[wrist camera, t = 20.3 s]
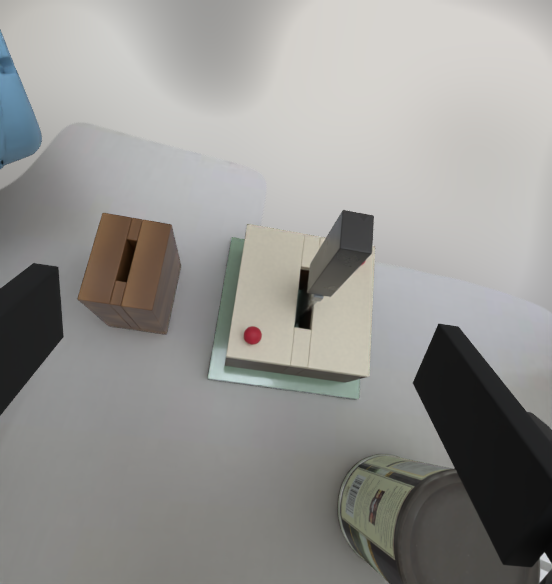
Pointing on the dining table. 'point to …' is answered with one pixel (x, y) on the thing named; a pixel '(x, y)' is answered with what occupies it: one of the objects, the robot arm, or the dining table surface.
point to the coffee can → (420, 526)
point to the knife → (336, 259)
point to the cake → (282, 310)
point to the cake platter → (255, 376)
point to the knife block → (132, 274)
